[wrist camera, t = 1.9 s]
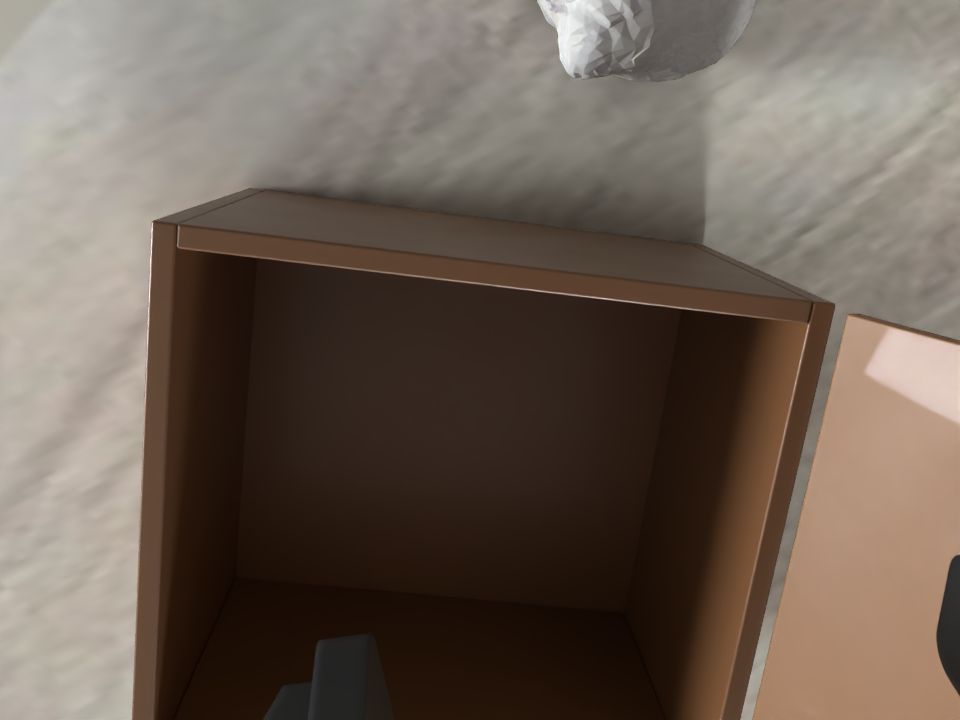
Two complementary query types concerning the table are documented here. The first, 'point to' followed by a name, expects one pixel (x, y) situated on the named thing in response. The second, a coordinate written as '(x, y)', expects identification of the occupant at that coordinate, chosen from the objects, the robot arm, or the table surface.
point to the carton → (461, 461)
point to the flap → (873, 538)
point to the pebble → (644, 35)
